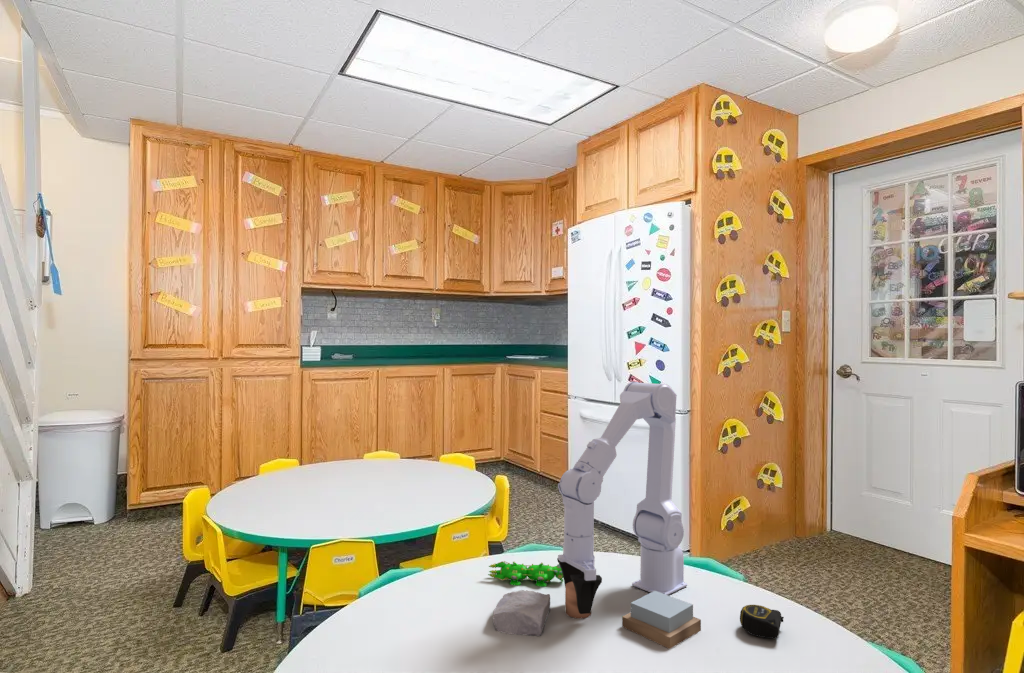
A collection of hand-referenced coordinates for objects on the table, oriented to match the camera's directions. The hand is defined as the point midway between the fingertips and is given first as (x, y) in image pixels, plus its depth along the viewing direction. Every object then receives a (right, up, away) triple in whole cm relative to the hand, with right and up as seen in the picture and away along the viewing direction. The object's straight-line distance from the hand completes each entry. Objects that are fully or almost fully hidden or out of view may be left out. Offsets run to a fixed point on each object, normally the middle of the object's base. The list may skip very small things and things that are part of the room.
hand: (578, 603), depth 108 cm
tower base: (+14, -2, -6) cm, 16 cm away
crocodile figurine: (-9, -2, +15) cm, 17 cm away
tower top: (+15, 0, -6) cm, 16 cm away
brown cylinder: (0, -2, 0) cm, 2 cm away
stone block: (-11, -2, -3) cm, 12 cm away
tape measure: (+33, -2, -7) cm, 34 cm away
